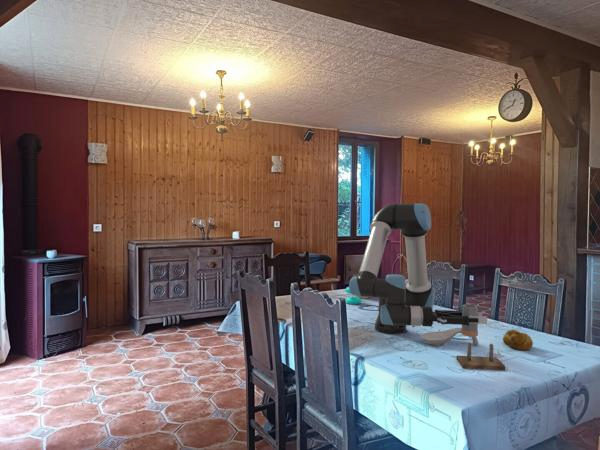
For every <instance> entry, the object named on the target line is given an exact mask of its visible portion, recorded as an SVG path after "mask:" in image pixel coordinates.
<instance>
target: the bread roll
mask: <svg viewBox="0 0 600 450" xmlns="http://www.w3.org/2000/svg"><path fill="white" fill-rule="evenodd" d="M502 342H503V343H504V344H505V345H507V346H508V347H510V348H511V349H514V350H517V351H528V350H530V349H532V347H533V339H532V338H531V336H530V335H528V333H525V332H521V331H518V330H516V329H511V330H507V332H505V334H504V335H503V338H502Z"/></svg>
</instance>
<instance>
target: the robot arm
mask: <svg viewBox="0 0 600 450" xmlns="http://www.w3.org/2000/svg"><path fill="white" fill-rule="evenodd" d="M369 229H370V233H369V236H368V240H367V243H366V247H365V251H364V254H363V257H362V260H361V264H360V268H359V271H358V273H357V274H358V277H353V276H352V277H351V278H350V280H349V284H348V287H349V290H350V293H351V294H350V293H349V294H350V295H353V296H355V295H356V296H365V297H369V298H377V299H378V314H377V318H376V320H375V323H374V329H375V331H377V332H379V333H385V334H402V333H406V332H407V326H409V327H410V326H411V327H412V328H415V327H421V326H422V327H432V326H433V324H434V322H436V323H438V324H441V325H457V326H458V325H461V326H462V325H467V326H469V323H471V324H478V325H479V324H481V325H487V324H488V316H487V315H483V312H478V316H462V309H461V310H452V309H451V310H447V309H446V310H445V309H434V311H433V307H434V303H435V299H436V288H435V287H432V283H431V282H430V281H428V269H427V268H428V267H427V266H428V265H427V254H426V253H427V251H426V238H425V237H426V235H427V234H428V232H429V231H430V230H431V229H432V215H431V211H430V208H429V206H428V205H427V204H425V203H418V202H417V203H416V202H415V203H390V204H387V205H385V206H384V207H382V208H381V209H380V210H379V211H377V213H375V215H374V216H373V218H372V220H371V222H370V225H369ZM394 230H397V231H398V230H399V231H400V233H401V236H403V237H404V242H405V244H404V245H405V251H406V255H405V256H406V264H407V277H408V282H407V281H406V277H405V275H402V274H398V273H397V274H393V273H392V274H391V273H390V274H389V273H388V274H387V275H386V276H385V278H378V274H379V270H380V266H381V263H382V259H383V255H384V252H385V248H386V244H387V240H388V236H390V234H392V231H394ZM406 282H407V283H406ZM356 296H355V297H356Z"/></svg>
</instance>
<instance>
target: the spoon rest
mask: <svg viewBox="0 0 600 450" xmlns="http://www.w3.org/2000/svg"><path fill="white" fill-rule="evenodd" d="M461 331H462V327H456V328H451V329H446V330H440V331H431V332H430V331H429V332H425V333H423V334H422V335H421V338H422V339H423V341H424V342H425V343H427V344H428V345H431V346H435V347H443V346H445V345H446V344H447V343H449V341H450V340H452V339H453V338H454V337H455V336H456V335H458V334H460V333H461ZM477 337H478V336H476V337H471V338H472V343H473V345H474V346H476V347H478V346H479V341H478V338H477Z"/></svg>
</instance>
